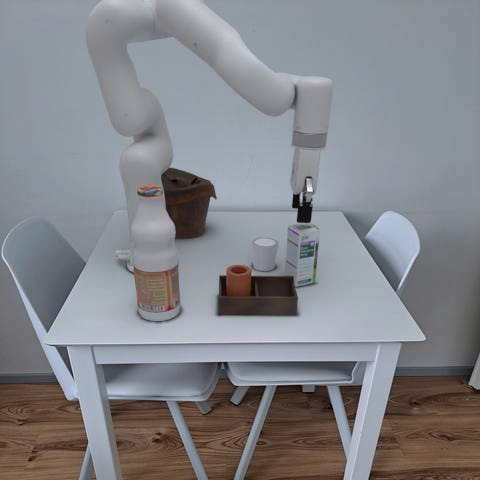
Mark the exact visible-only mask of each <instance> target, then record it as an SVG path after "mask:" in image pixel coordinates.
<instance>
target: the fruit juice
mask: <svg viewBox="0 0 480 480" xmlns="http://www.w3.org/2000/svg"><path fill="white" fill-rule="evenodd" d="M137 194H138V197H139V198H140V200H139V205H138V209H137V213H136V217H135V219H134V221H133V223H132V225H131V237H132V240H133V242H134V249H133V267H134V273H133V275H134V284H135V285H134V286H135V293H136V303H137V304H136V305H137V310H138V314H139V315H140V317H141V318H142V319H145V320H147V321H151V322H165V321H168V320H172V319H173V318H175V317H177V315H179V313H180V311H181V294H180V291H181V290H180V272H179V257H178V249H177V247H176V245H175V239H176V237H175V234H176V230H175V225H174V223H173V221H172V220H171V219H170V217H169V215H168V213H167V211H166V208H165V206H164V203H163V201H162V196H163V190H162V187H161V186H158V185H143V186H140V187H138V189H137Z"/></svg>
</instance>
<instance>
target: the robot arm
mask: <svg viewBox="0 0 480 480" xmlns="http://www.w3.org/2000/svg"><path fill="white" fill-rule="evenodd" d="M168 38H174V39H175V40H176V41H178V42H179V43H180V44H181V45H183V46H184V47H185V48H187V49H188V50H189V51H191V53H193V54H194V55H195V56H196V57H198V58H199V59H201V60H202V61H203V62H204V63H205V64H207V65H208V66H209V67H210V68H212V69H213V70H214V72H215V73H216V74H217V76H219V77H220V78H221V79H222V80H223V81H224V82H225V83H226V84H227V85H228V87H229V88H231V90H233V91H234V92H235V93H236V94H237V95H238V96H239V97H241V98H242V99H243V100H245V101H246V102H247V103H248V104H250V105H251V106H252V107H254V109H256V110H257V111H259V112H260V113H262V114H264V115H265V116H268V117H280V116H282V115H284V114H286V112H288V111H289V110H293V123H292V124H293V125H292V135H291V145H290V146H291V147H292V148H294V149H293V157H292V162H291V163H292V165H291V172H290V179H289V185H290V188H291V190H292V201H291V208H292V209H297V214H296V222H297V224H301V223H311V222H312V215H313V208H314V196H315V194H316V192H317V187H318V180H319V173H320V171H319V170H320V163H321V151H322V150H325V149H326V148H327V141H328V133H329V125H330V118H331V110H332V102H333V101H332V100H333V95H334V94H333V93H334V82H333V80H332V79H331V78H329V77H326V76H317V75H307V76H301V75H296V74H292V73H291V74H290V73H287V72H280V71H279V72H275V71H273V69H271V68H270V67H268V65H266V64H265V63H264V62H262V61H261V60H260V59H259V58H258V57H257V56H256V55H255V54H253V53H252V51H251V50H250V49H249V48H248V47H247V45H246V44H245V43H244V41H243V38H242V36H241V35H240V33H239V32H238V31H237V30H236V29H235V27H233V26H232V25H230V24H229V22H227V21H226V20H224V19H223V18H222V17H221V16H220V15H218V14H217V13H216V12H215V11H213V9H211V8H210V7H208V6H207V5H206V3H205V1H204V0H100V1H99V2H98V3H97V4H96V5H95V6H94V7H93V9H92V10H91V12H90V13H89V16H88V17H87V21H86V25H85V43H86V48H87V52H88V56H89V58H90V61H91V63H92V66H93V69H94V72H95V75H96V79H97V81H98V82H97V83H98V86H99V89H100V92H101V95H102V98H103V102H104V105H105V108H106V110H107V114H108V118H109V121H110V123H111V126H112V127H113V129H114V130H115V132H117V133H118V134H119V135H121V136H123V137H127V138H129V137H130V138H131V137H132V140H133V142H132V143H130V144H129V145H128V146H127V147H126V148H125V149H124V150H123V151H122V153H121V155H120V157H119V163H118V164H119V167H118V168H119V174H120V178H121V181H122V186H123V190H124V195H125V203H126V210H127V211H126V212H127V220H128V229H129V240H130V248H127V249H115V251H114V252H115V254H114V256H115V258H118V260H119V261H126V267H127V269H128V271H130V272H131V273H133V274H134V267H133V249H134V242H133V240H132V237H131V225H132V223H133V221H134V219H135V217H136V213H137V209H138V205H139V200H140V198H139V197H138V194H137V189H138V187H140V186H143V185H158V186H161V187H162V190H163V196H162V201H163V203H164V206H165V208H166V204H165V194H164V189H163V185H162V181H161V175H162V174H163V173H164V172H165V171H166V170H167V169H168V168H171V166H172V163H173V161H174V147H173V144H172V143H173V142H172V139H171V135H170V132H169V128H168V124H167V121H166V117H165V113H164V109H163V107H162V104H161V101H160V100H159V99H158V97H157V96H156V95H155V93H153V91H151V89H147V88H146V87H141V84H140V82H139V79H138V75H137V71H136V68H135V64H134V63H133V61H132V58H131V57H130V54H129V52H128V49H127V47H128V45H129V44H134V43H135V44H136V43H144V42H145V43H146V42H150V41H156V40H161V39H168Z"/></svg>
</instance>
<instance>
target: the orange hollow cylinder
mask: <svg viewBox="0 0 480 480" xmlns="http://www.w3.org/2000/svg"><path fill="white" fill-rule="evenodd" d="M225 275H226V296H250V292H251V276H252V269H251V268H250V267H249V266H247V265H244V264H232V265H230V266H227V268H226V270H225Z"/></svg>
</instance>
